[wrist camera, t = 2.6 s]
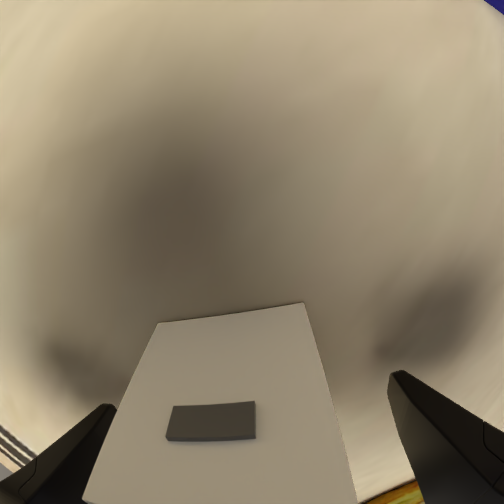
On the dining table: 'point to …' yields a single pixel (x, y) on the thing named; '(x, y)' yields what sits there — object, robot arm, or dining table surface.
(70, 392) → the dining table surface
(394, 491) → the decorated donut
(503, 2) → the cable clip
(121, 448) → the charger
